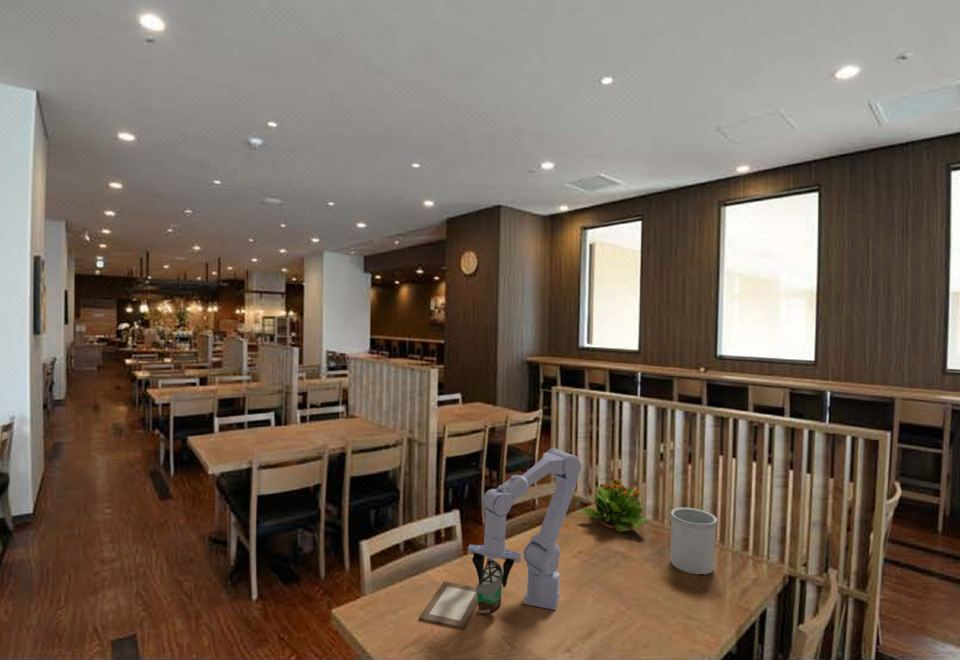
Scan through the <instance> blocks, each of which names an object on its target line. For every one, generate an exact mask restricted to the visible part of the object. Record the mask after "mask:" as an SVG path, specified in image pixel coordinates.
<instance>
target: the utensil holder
mask: <svg viewBox="0 0 960 660" xmlns="http://www.w3.org/2000/svg"><path fill="white" fill-rule="evenodd" d="M670 517H671V522H670V525H671V526H670V528H671V529H670V530H671V531H670V532H671V533H670V562H671V564H672V566H674V568H677V569H678V570H680V571H682V572H685V573H688V574H693V575H699V574H704V575H709V574H711V573H713V571H714V566H715V555H716V554H715V553H716V539H717V538H716V537H717V535H716V534H717V525H718V519H717V517H716V516H715V515H714V514H712V513H710V512H708V511H705V510H702V509H698V508H693V507H676V508H673V509H672V510H671V512H670Z"/></svg>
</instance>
